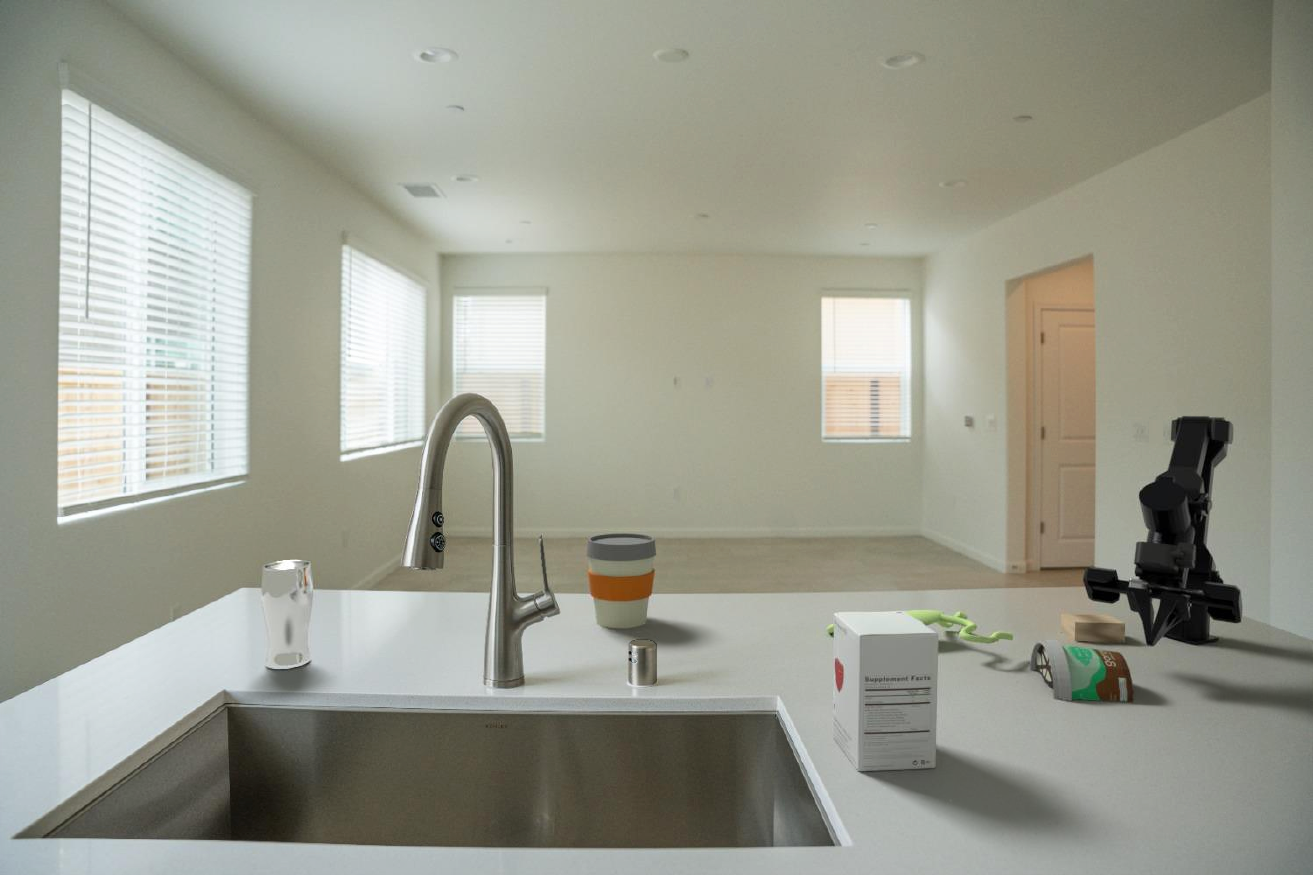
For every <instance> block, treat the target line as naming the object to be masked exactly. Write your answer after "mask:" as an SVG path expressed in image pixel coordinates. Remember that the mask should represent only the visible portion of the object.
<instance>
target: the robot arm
mask: <svg viewBox="0 0 1313 875" xmlns="http://www.w3.org/2000/svg"><path fill="white" fill-rule="evenodd" d="M1170 428H1171V429H1170V442H1173V443H1174V444H1173V449H1172V452H1171V456H1170V459H1169V463H1168V466H1167V467H1168V468H1167V470H1166V471H1164V472H1162V473H1161V474H1159V475H1157V476H1156V477H1155V479H1154V480H1153V482H1150V483H1148V484H1146V485H1145V486H1144V487H1142V488H1141V490H1139V492H1138V499H1139V500H1138V501H1139V505H1140V508H1141V509H1140V510H1141V514H1142V518H1143V523H1144V526H1145V528H1146V529H1148V531H1147V537H1146V541H1137V542H1136V543H1135V552H1134V560H1133V564H1134V565H1135V568H1134V575H1135V577H1138V578H1131V577H1129V579H1128V580H1123V579H1119V576H1118V573H1117V569H1114V568H1113V569H1112V568H1103V567H1097V566H1090V567H1088V568H1087V569H1085V570H1084V573H1083V577H1082V582H1083V584H1084V587H1085V591H1086V594H1087V597H1088V599H1089V600H1091V601H1093V602H1099V603H1104V604H1111V605H1113V604H1115V603H1117V602H1119V601H1120V598H1121V595H1125V596H1126V597H1127V601H1128V605H1129V609H1130V611H1131V612H1133V613H1138V616H1139V617H1140V621H1141V623H1142V627H1143V632H1144V638H1145V643H1146V646H1148V647H1149V646H1150V647H1155V646H1156V644H1157V643H1159V641H1160V640H1161V639H1162V638H1163V637H1164V636H1165V637H1167V638H1171V639H1175V640H1178V641H1182V642H1185V643H1188V644H1193V645H1198V644H1203V643H1204V644H1205V643H1209V642H1215V641H1220V637H1219V636H1216V635H1212V634H1210V628H1211V627H1210V626H1211V625H1210V623H1211V619H1212V620H1213V621H1219V622H1224V623H1230V624H1239V623H1242V619H1243V618H1242V617H1243V597H1242V591H1241V589H1240V588H1239V587H1238V586H1237V585H1235V584H1227V583H1225V582H1224V580H1223V579H1222V577H1221V575H1220V571H1219V570H1216V569H1217V565H1216V562H1215V560H1214V558H1213V555H1212V554H1211V552H1210V550H1209V548H1208V547H1207V544H1208V543H1207V542H1208V533H1209V522H1210V514H1211V513H1210V511H1211V510H1212V509H1213V500H1212V495H1213V494H1212V493H1213V484H1214V474H1215V468H1216V467H1217V466H1219V465H1220V464H1221V463H1222V462H1223V461H1224V459H1226V457H1227V456H1228V455H1227V454H1228V449H1229V445H1232V444H1233V442H1234V425H1233V423H1232V421H1229V420H1226V418H1225V417H1220V416H1219V417H1216V416H1215V417H1212V416H1210V417H1209V416H1208V415H1183V416H1180V417H1177V418H1176V419H1174V420H1171V426H1170ZM1153 600H1159V604H1158V605H1159V606H1158V609H1157V613H1156V616H1155V609H1154V605H1153Z"/></svg>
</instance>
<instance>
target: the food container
mask: <svg viewBox="0 0 1313 875" xmlns="http://www.w3.org/2000/svg"><path fill="white" fill-rule="evenodd" d="M1029 665H1030V666H1029V667H1030V668H1029V670H1030V671H1035V670H1037V671H1036V672H1038V673H1039V674H1040V675H1041V676H1042V679H1043V681H1044V683H1045V684H1046V685H1048V686H1049V687H1050V688H1051V689H1052V691H1053V699H1055V698H1059V699H1058V700H1060V699H1064V700H1063V701H1067V700H1068V702H1072V700H1077V699H1082V701H1104V702H1105V701H1106V702H1107V701H1108V702H1110V701H1111V702H1130V703H1131V702H1134V687H1133V679H1132V675H1131V671H1130V670H1131V669H1130V667H1129V665H1128V662H1127V660H1126V659H1125V657H1124V655H1123V654H1122V653H1120V652H1119V651H1111V650H1105V649H1097V648H1090V647H1088V648H1087V647H1083V646H1082V647H1081V646H1072V645H1065V644H1061V643H1060V641H1059V640H1057V639H1054V638H1053V639H1046V640H1042V641H1040V642H1036V643H1035V645H1034V647H1033V649H1032V652H1031V657H1030V664H1029Z"/></svg>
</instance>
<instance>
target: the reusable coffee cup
mask: <svg viewBox="0 0 1313 875" xmlns="http://www.w3.org/2000/svg"><path fill="white" fill-rule="evenodd" d="M655 541H656V539H655V537H653V536H652V535H648V534H641V533H629V532H628V533H626V532H624V533H623V532H619V533H617V532H616V533H604V534H598V535H597V534H596V535H592V536H589V537H588V538H587V544H586V545H587V546H586V557H588V563H589V568H588V570H587V575H588V576H587V577H588V583H589V591H590V596H591V597H592V598H593V604H594V614H595V621H596V624H597V625H599V626H600V627H604V628H609V629H631V628H632V629H633V628H638V627H641V626H643V625H645V624H646V623H647V616H648V608H649V602H650V601H649V600H650V599H649V598H650V597H651V596H652V594H653V585H654V579H655V572H656V570H655V568H654V561H655V556H656V555H657V551H656V548H657V547H656V542H655Z"/></svg>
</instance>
